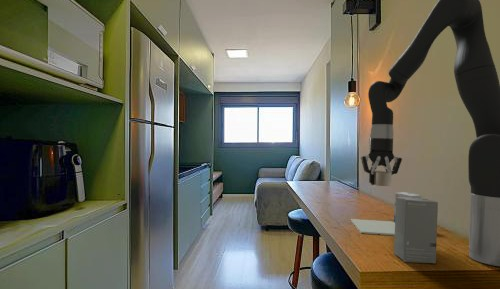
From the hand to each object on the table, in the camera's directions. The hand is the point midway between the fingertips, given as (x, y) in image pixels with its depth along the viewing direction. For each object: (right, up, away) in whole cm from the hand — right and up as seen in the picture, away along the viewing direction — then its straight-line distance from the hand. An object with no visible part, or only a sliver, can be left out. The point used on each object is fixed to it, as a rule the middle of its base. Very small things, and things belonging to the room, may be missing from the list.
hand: (379, 184), depth 108 cm
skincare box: (-4, -16, -29) cm, 33 cm away
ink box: (+14, -16, +8) cm, 23 cm away
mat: (0, -16, +1) cm, 16 cm away
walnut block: (+1, +2, +6) cm, 7 cm away
